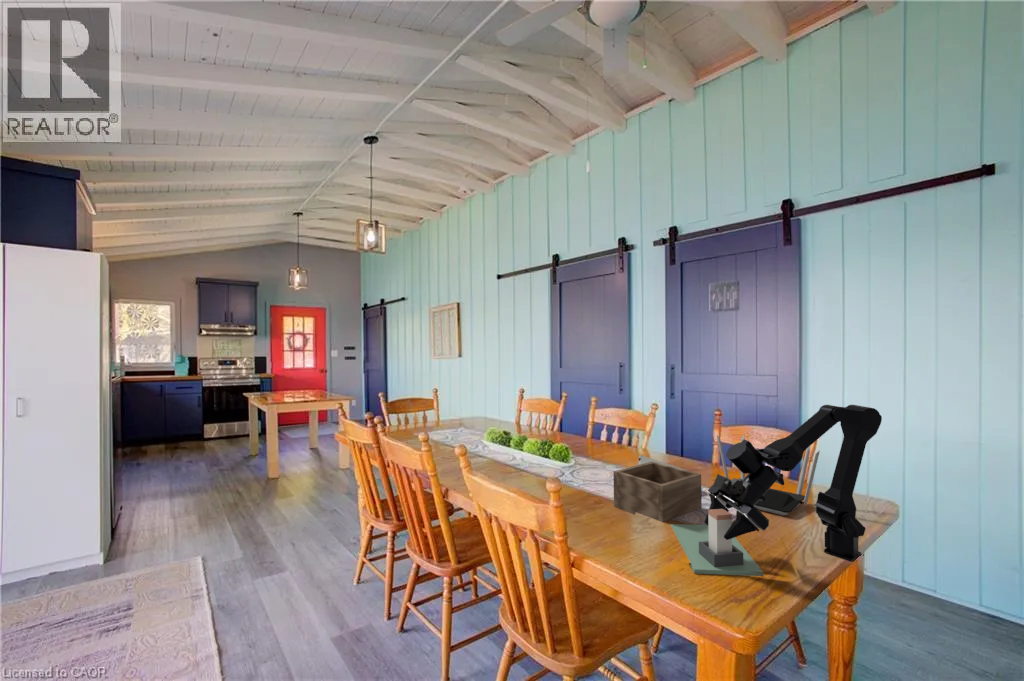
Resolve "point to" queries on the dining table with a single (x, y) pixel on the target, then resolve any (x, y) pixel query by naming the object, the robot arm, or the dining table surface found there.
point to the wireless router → (780, 499)
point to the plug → (719, 530)
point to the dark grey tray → (721, 556)
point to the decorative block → (646, 460)
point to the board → (690, 543)
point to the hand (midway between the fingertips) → (715, 530)
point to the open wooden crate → (657, 491)
